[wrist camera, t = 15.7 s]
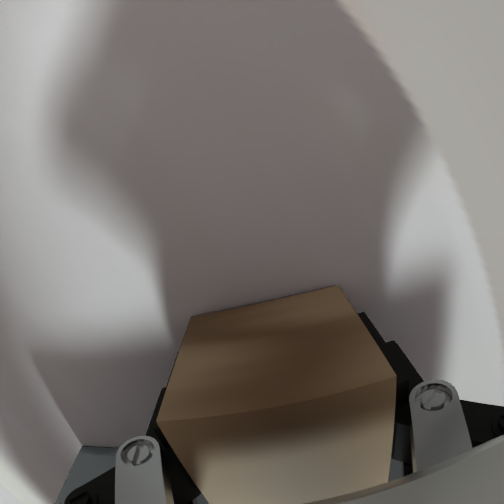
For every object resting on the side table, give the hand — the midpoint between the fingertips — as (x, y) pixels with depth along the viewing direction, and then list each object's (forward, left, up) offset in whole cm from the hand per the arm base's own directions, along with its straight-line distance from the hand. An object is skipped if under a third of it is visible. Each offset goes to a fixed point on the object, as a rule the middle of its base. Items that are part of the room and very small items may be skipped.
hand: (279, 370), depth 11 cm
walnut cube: (0, 0, -1) cm, 1 cm away
